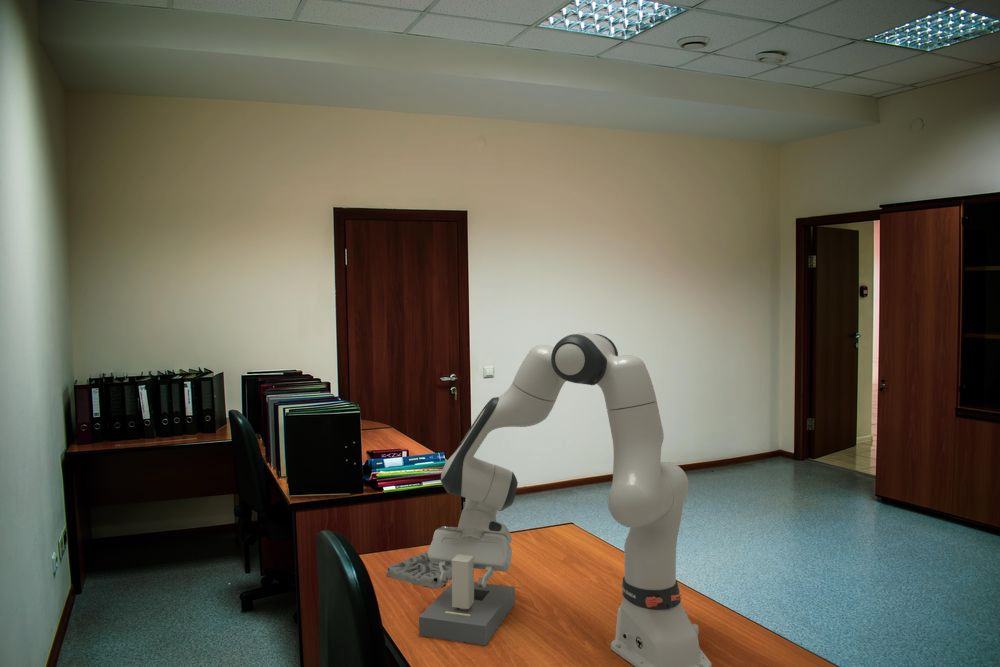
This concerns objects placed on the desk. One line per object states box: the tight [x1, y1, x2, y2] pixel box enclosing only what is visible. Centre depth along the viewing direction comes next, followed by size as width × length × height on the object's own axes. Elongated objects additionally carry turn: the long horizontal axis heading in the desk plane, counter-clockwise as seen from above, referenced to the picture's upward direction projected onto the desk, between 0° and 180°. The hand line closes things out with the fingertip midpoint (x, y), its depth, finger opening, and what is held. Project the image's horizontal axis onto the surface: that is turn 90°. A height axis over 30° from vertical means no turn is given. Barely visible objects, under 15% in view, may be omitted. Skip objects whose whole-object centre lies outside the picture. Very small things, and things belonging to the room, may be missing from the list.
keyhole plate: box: [418, 581, 516, 647], centre depth 169 cm, size 22×16×5 cm
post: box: [451, 554, 475, 610], centre depth 166 cm, size 4×4×16 cm
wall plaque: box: [386, 551, 452, 589], centre depth 202 cm, size 24×19×4 cm
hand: (462, 584), depth 165 cm, fingers open, 8 cm apart
